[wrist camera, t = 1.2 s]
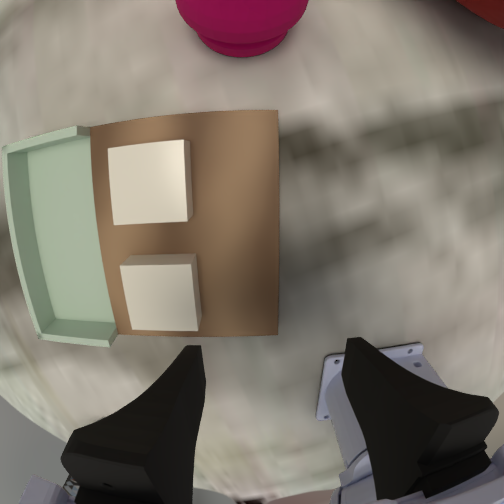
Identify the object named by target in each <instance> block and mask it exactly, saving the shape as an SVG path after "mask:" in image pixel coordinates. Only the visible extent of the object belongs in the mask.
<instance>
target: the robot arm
mask: <svg viewBox="0 0 504 504" xmlns="http://www.w3.org/2000/svg"><path fill="white" fill-rule="evenodd" d="M423 348H424V347H423V345H422V344H421V343H416V344H411V345H405V346H399V347H393V348H386V349H379V350H378V349H376V348H375V347H374V346H372V345H371V344H370V343H368V342H367V341H365V340H364V339H363V338H361V337H356V338H347V344H346V350H345V354H339V355H330V356H328V357H326V358H325V360H324V367H323V374H322V380H321V387H320V393H319V399H318V405H317V411H316V419H317V420H318V421H322V420H330V419H331V421H332V424H333V427H334V431H335V434H336V437H337V441H338V444H339V447H340V451H341V454H342V458H343V461H344V464H345V468H346V470H345V471H344V472H342V473H340V474H339V478H340V482H341V486H340V487H338V488H336V489H335V490H334V492H333V493H332V496H331V500H330V503H329V504H504V444H503V445H502V446H501V447H500V448H499V449H498V450H497V451H496V452H495V453H494V455H493V456H492V458H491V459H489V457H488V456H487V454H486V452H485V451H484V450H485V449H486V448H487V445H486V443H485V442H484V440H485V438H486V437H487V436H488V434H489V433H490V431H491V430H492V428H493V427H494V425H495V423H496V421H497V419H498V415H499V411H498V409H497V408H496V407H495V405H494V404H493V403H492V401H491V400H490V399H489V398H488V397H484V396H477V395H471V394H466V393H462V392H458V391H454V390H451V389H448V388H447V386H446V385H445V384H444V382H443V381H442V380H441V378H440V377H439V376H438V374H437V373H436V372H435V370H434V369H433V368H432V367H431V365H430V364H429V363H428V361H427V360H426V359H425V358H424V356H423V355H422V351H423ZM408 350H409V351H408ZM337 359H338V361H336V362H334V361H335V360H337ZM205 389H206V378H205V372H204V365H203V357H202V350H201V345H187V346H185V347H184V349H183V350H182V351H181V353H180V354H179V355H178V356H177V358H176V359H175V360H174V361H173V363H172V364H171V365H170V366H169V367H168V368H167V370H166V371H165V372H164V373H163V374H162V375H161V376H160V377H159V378H158V379H157V380H156V381H155V382H154V383H153V384H152V385H151V386H150V387H149V388H148V389H147V390H146V391H145V392H144V393H142V394H141V395H140V396H139V397H137V398H136V399H135V400H133V401H132V402H131V403H129V404H127V405H126V406H124V407H123V408H121V409H120V410H118V411H117V412H115V413H113V414H111V415H109V416H107V417H105V418H103V419H101V420H99V421H97V422H95V423H92V424H90V425H87V426H84V427H82V428H79V429H76V430H74V431H73V433H72V435H71V437H70V438H69V440H68V443H67V445H66V447H65V449H64V451H63V453H62V456H61V462H62V464H63V466H64V468H65V469H66V470H67V472H68V473H69V474H70V475H71V477H72V478H73V479H74V480H75V481H76V482H77V484H78V485H79V486H80V487H79V489H78V492H77V495H76V497H73V496H70V495H68V493H67V492H66V491H65V490H64V489H63V488H62V487H61V486H59V485H58V484H56V483H54V482H51V481H49V480H46V479H44V478H41V477H39V476H36V475H31V477H30V479H29V481H28V483H27V485H26V488H25V490H24V492H23V494H22V496H21V498H20V501H19V503H18V504H192V495H193V491H192V490H193V471H194V457H195V447H196V441H197V436H198V431H199V426H200V421H201V417H202V412H203V407H204V402H205ZM326 415H327V416H326Z"/></svg>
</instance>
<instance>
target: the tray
mask: <svg viewBox="0 0 504 504" xmlns="http://www.w3.org/2000/svg"><path fill="white" fill-rule="evenodd" d="M2 167H3V181H4V192H5V201H6V210H7V217H8V223H9V230H10V235H11V241H12V246H13V251H14V256H15V260H16V265H17V269H18V273H19V277H20V281H21V285H22V289H23V292H24V296H25V299H26V303H27V306H28V309H29V312H30V315H31V318H32V321H33V324H34V327H35V330H36V333H37V336H38V338H39V339H42V340H49V341H56V342H64V343H72V344H81V345H91V346H101V347H110V346H111V345H112V343H113V342H114V340H115V338H116V337H117V335H118V332H117V328H116V324H115V320H114V316H113V311H112V307H111V303H110V298H109V293H108V289H107V284H106V279H105V273H104V268H103V262H102V256H101V250H100V244H99V237H98V230H97V222H96V214H95V205H94V194H93V183H92V169H91V148H90V127H83V126H73V127H69V128H65V129H61V130H57V131H53V132H49V133H45V134H42V135H38V136H35V137H31V138H28V139H25V140H21V141H18V142H15V143H12V144H9V145H6V146H3V147H2Z"/></svg>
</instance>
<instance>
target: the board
mask: <svg viewBox="0 0 504 504" xmlns="http://www.w3.org/2000/svg"><path fill="white" fill-rule="evenodd" d="M173 140H187V141H190V157H191V182H192V201H193V216H192V217H191V218H190V219H189V220H188V221H186V222H164V223H144V224H127V225H114V222H113V213H112V203H111V192H110V180H109V164H108V148H114V147H121V146H128V145H136V144H144V143H153V142H162V141H173ZM90 148H91V169H92V183H93V194H94V205H95V214H96V222H97V230H98V237H99V244H100V250H101V256H102V262H103V268H104V273H105V279H106V284H107V289H108V293H109V298H110V303H111V307H112V311H113V316H114V320H115V324H116V328H117V332H118V334H124V335H145V336H179V337H230V336H265V335H278V303H279V140H278V110H238V111H215V112H199V113H187V114H176V115H166V116H158V117H150V118H142V119H135V120H129V121H122V122H116V123H110V124H105V125H99V126H94V127H90ZM195 253H196V259H197V271H198V282H199V293H200V303H201V312H202V317H201V321H200V326H199V330H198V331H157V330H132V326H131V322H130V317H129V313H128V308H127V303H126V298H125V293H124V288H123V282H122V277H121V271H120V265H121V264H122V263H123V262H124V261H125V260H126V259H127V258H128V257H129V256H130V255H159V254H195Z"/></svg>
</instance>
